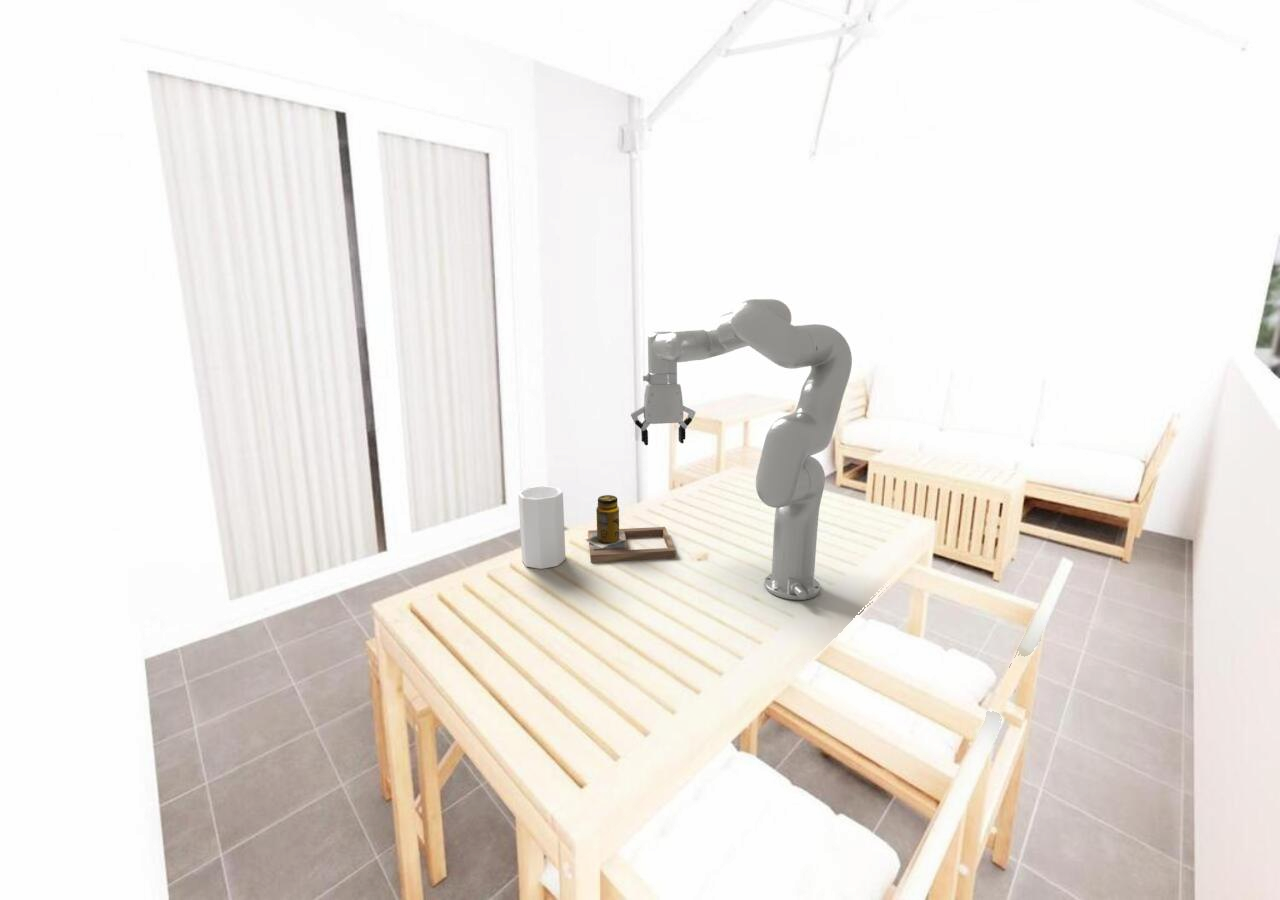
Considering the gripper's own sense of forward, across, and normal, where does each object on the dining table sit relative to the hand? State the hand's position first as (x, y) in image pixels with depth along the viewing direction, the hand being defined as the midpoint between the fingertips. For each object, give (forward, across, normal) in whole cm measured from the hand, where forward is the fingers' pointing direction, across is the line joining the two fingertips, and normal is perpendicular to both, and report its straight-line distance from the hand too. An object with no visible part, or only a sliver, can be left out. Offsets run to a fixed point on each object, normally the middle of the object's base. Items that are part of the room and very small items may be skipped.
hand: (663, 443), depth 161 cm
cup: (+28, -33, -8) cm, 44 cm away
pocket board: (+28, -10, -3) cm, 30 cm away
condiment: (+26, -17, -3) cm, 31 cm away
